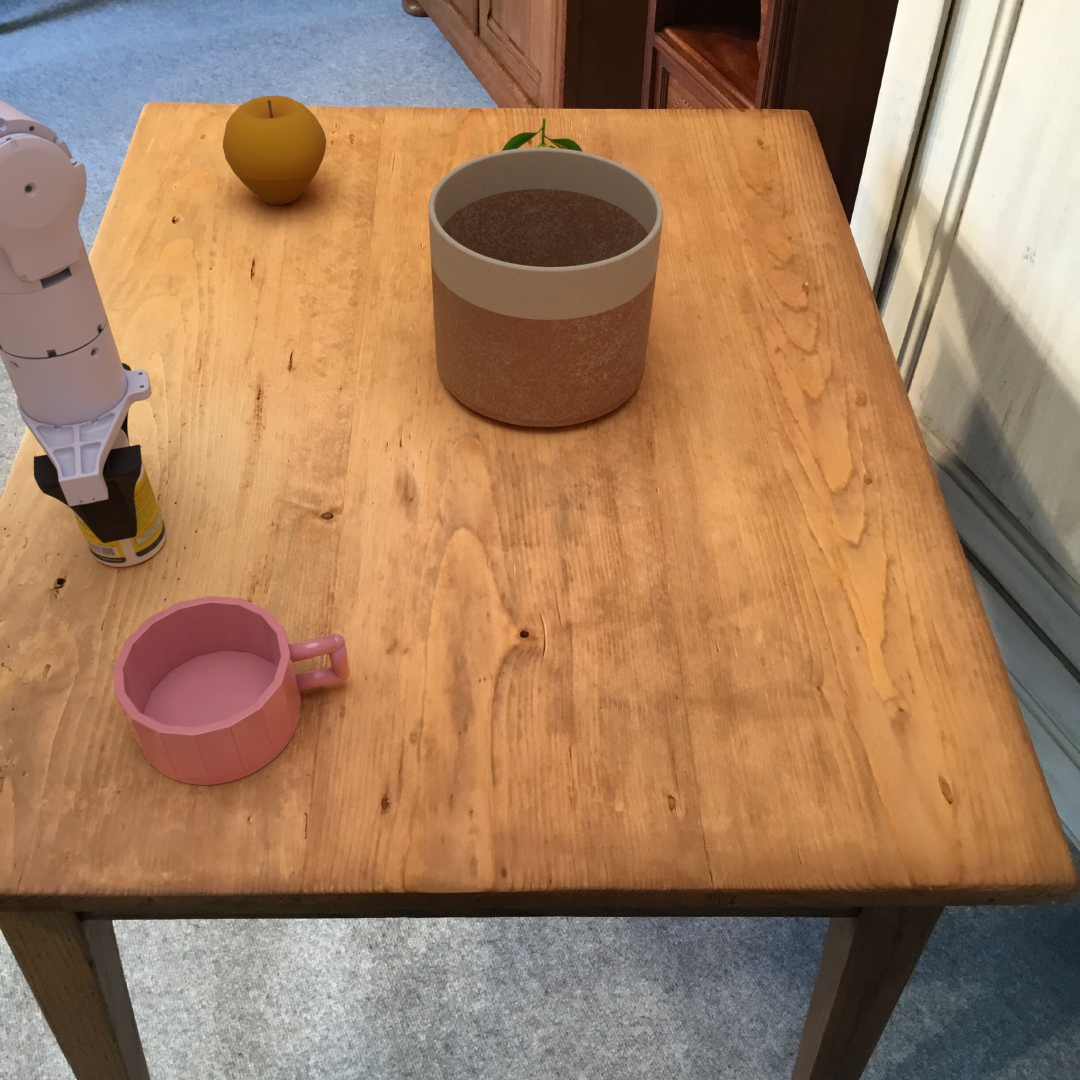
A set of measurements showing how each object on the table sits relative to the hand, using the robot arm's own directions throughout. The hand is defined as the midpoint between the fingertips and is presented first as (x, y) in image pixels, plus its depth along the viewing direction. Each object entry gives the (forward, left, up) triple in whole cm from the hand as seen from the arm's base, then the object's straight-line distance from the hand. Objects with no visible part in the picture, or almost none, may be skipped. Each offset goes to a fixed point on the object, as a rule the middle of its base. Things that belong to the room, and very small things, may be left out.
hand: (116, 506), depth 67 cm
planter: (+31, +10, -3) cm, 33 cm away
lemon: (+37, +29, -3) cm, 47 cm away
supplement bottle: (0, 0, -3) cm, 3 cm away
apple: (+16, +40, -3) cm, 43 cm away
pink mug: (+6, -15, -3) cm, 16 cm away
